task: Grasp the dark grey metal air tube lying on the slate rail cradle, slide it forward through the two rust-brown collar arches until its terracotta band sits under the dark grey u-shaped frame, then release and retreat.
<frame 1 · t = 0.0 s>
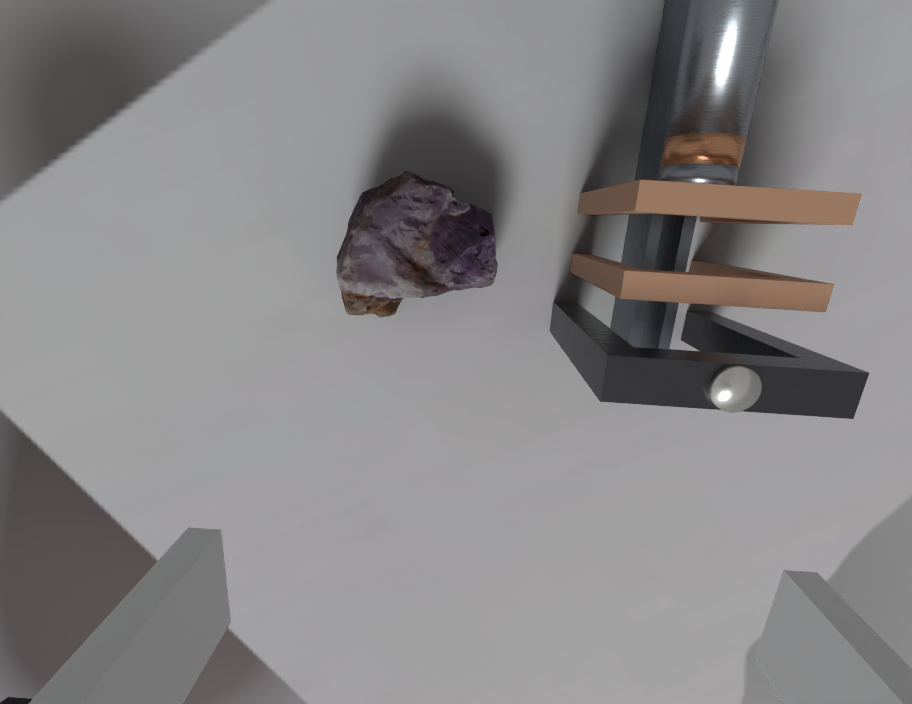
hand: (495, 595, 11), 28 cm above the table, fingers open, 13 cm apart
rock: (416, 246, 36), on the table
rail cradle: (662, 137, 33), on the table
collar a: (650, 208, 34), resting in rail cradle
collar b: (639, 267, 36), resting in rail cradle
dark grey u-shaped frame: (629, 321, 37), resting in rail cradle
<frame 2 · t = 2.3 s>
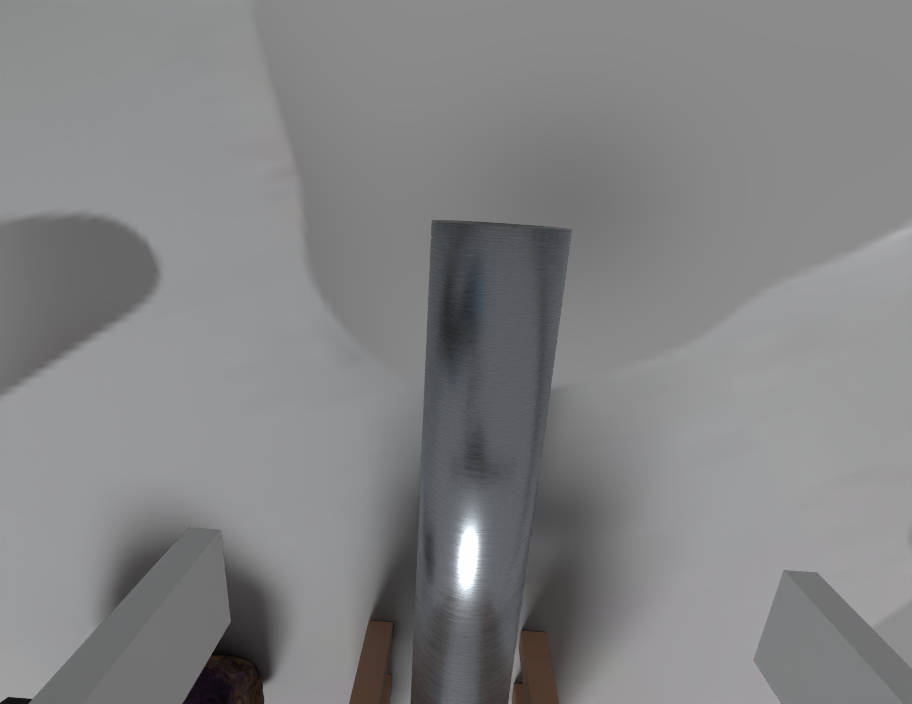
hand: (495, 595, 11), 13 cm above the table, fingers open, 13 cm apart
rock: (181, 660, 29), on the table
collar a: (456, 635, 28), resting in rail cradle
air tube: (472, 502, 20), point 4 cm above the table, touching rail cradle
collar b: (452, 687, 29), resting in rail cradle
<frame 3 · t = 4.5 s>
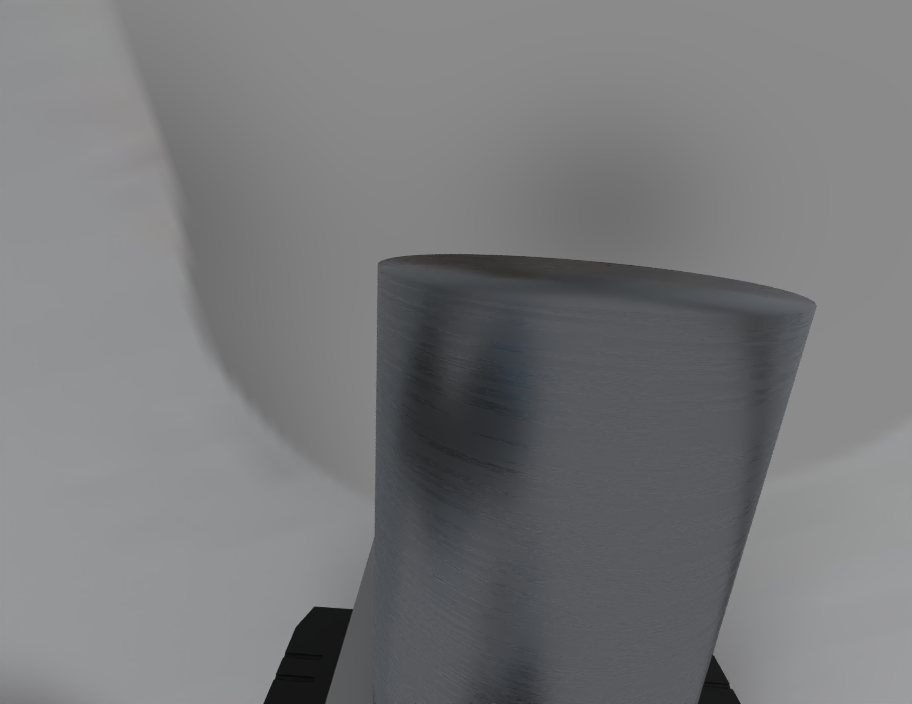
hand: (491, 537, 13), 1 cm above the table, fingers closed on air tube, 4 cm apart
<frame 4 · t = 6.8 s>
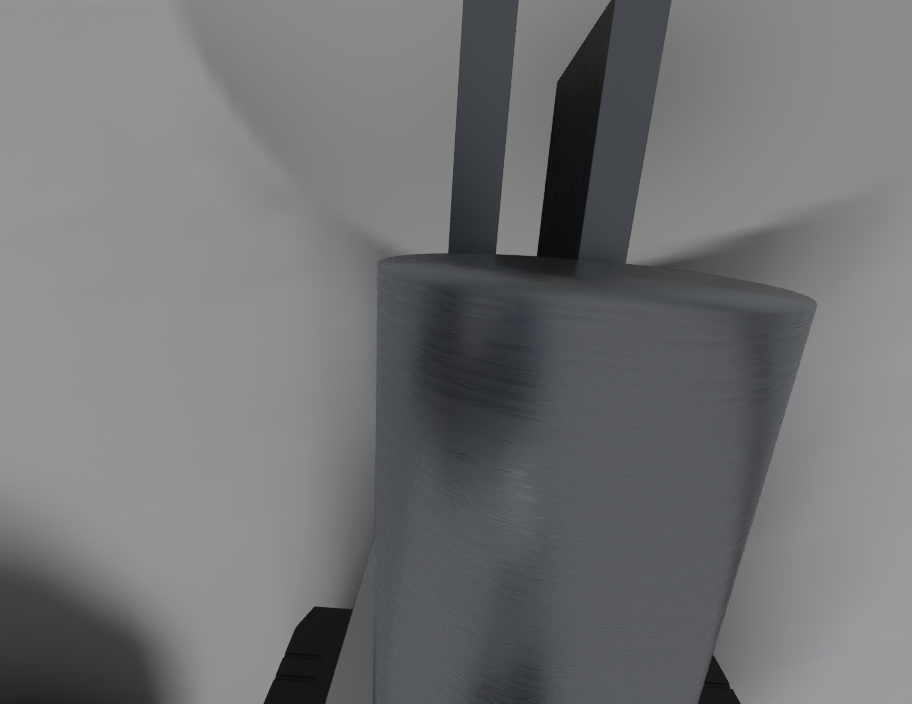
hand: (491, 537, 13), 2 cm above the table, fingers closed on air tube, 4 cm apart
rail cradle: (475, 604, 15), on the table
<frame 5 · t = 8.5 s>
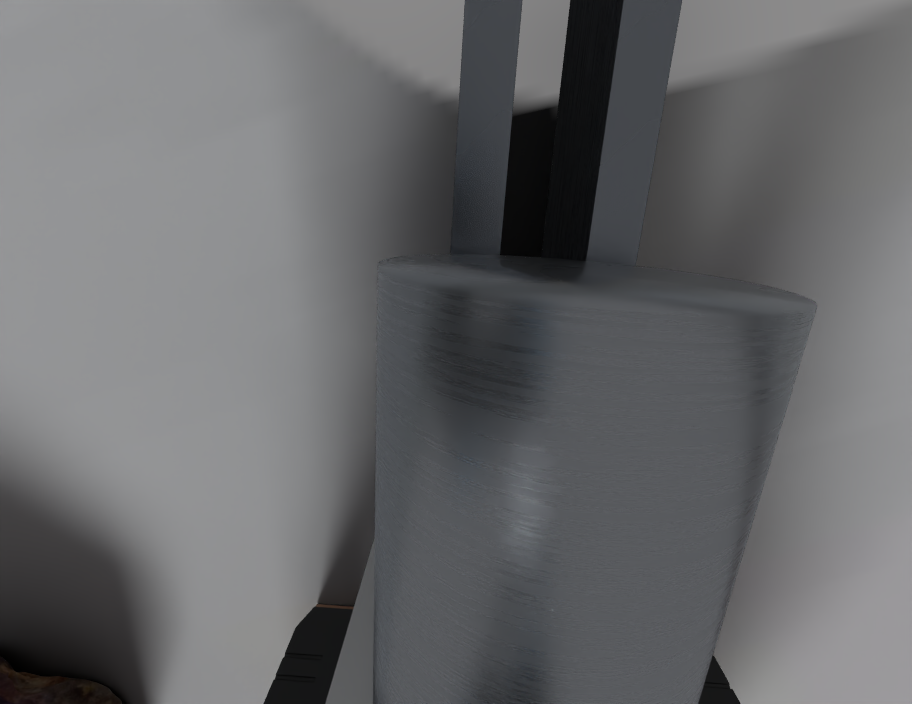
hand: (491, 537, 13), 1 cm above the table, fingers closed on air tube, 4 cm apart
rail cradle: (489, 508, 14), on the table
when the fingers open (1 cm above the table, at t = 9.2 s): air tube stays where it is, resting on rail cradle.
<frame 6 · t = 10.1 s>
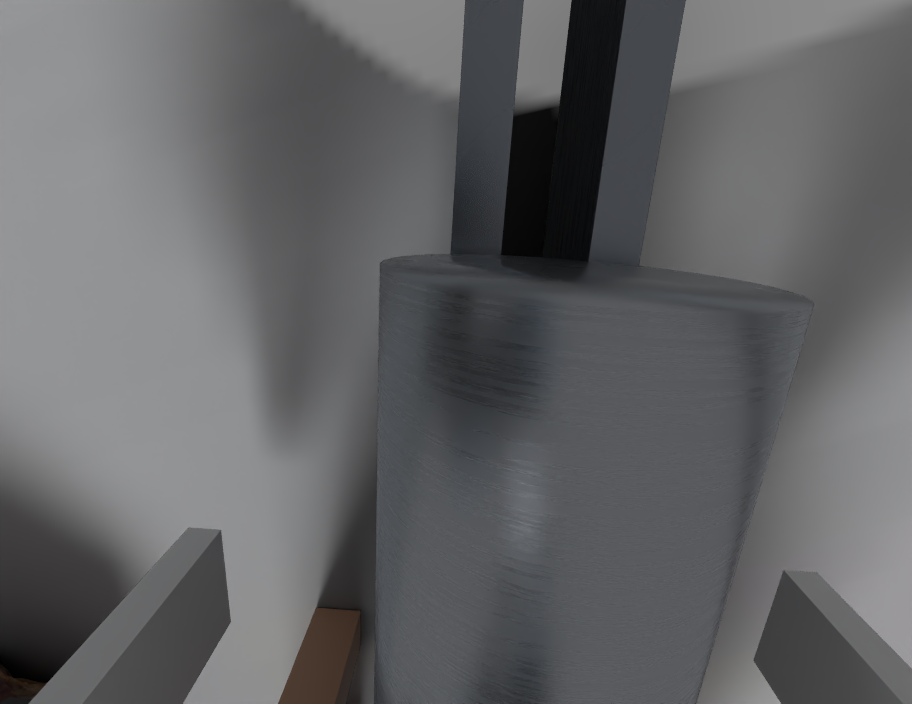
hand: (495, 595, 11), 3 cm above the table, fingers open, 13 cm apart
rail cradle: (489, 511, 14), on the table
collar a: (477, 636, 15), resting in rail cradle
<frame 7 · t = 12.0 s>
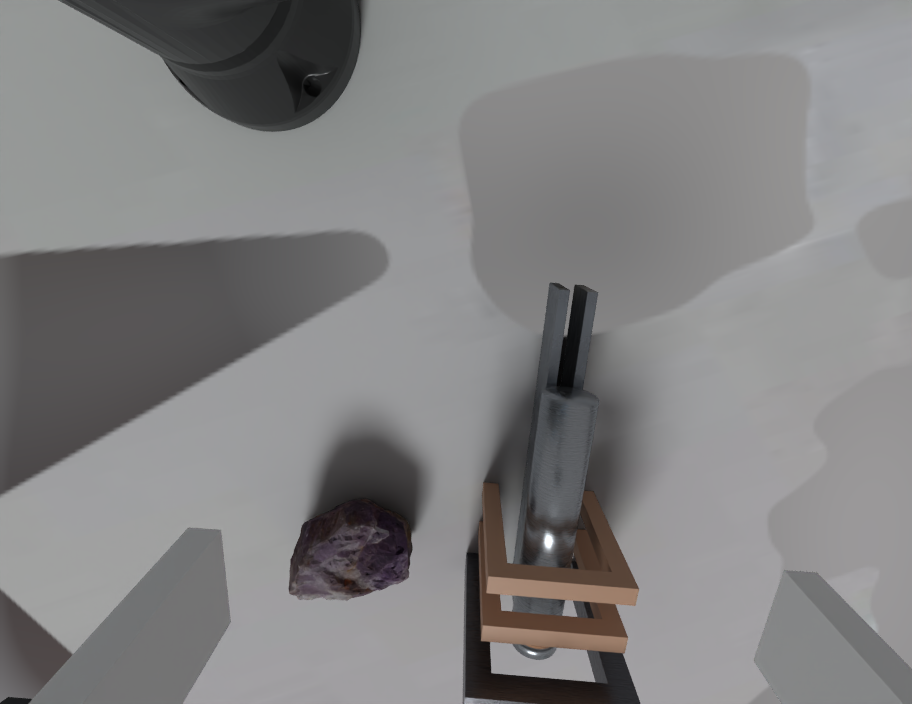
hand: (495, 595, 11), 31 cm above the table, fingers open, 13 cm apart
rock: (358, 517, 46), on the table
rail cradle: (543, 448, 43), on the table
collar a: (537, 493, 45), resting in rail cradle
air tube: (545, 511, 40), point 4 cm above the table, touching rail cradle
collar b: (532, 531, 46), resting in rail cradle
dark grey u-shaped frame: (526, 567, 47), resting in rail cradle
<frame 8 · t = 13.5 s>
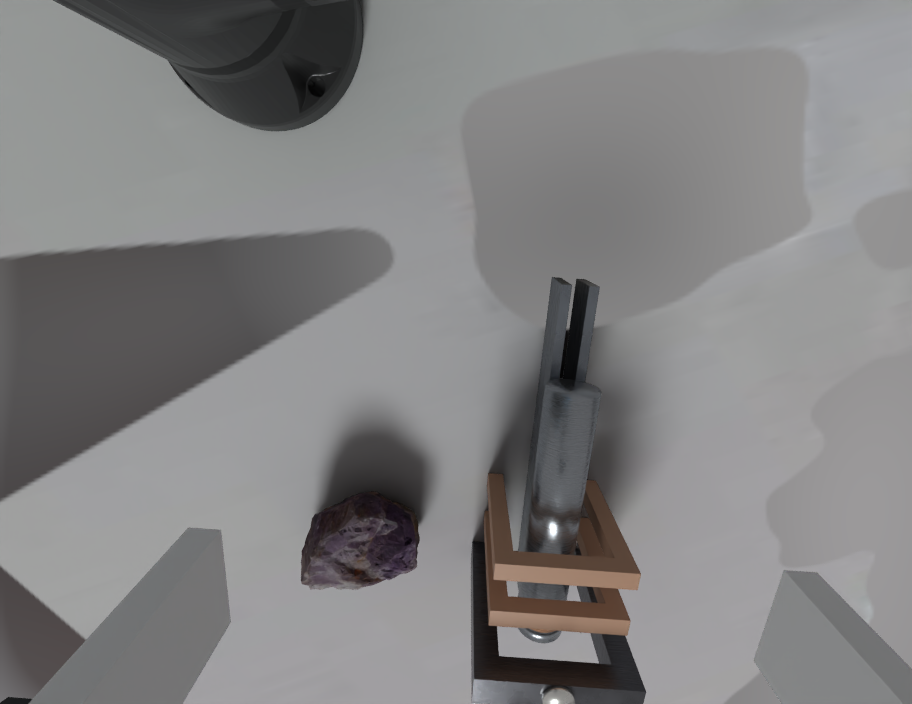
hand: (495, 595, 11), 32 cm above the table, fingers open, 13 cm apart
rock: (366, 509, 48), on the table
rail cradle: (547, 439, 44), on the table
collar a: (541, 483, 46), resting in rail cradle
air tube: (549, 500, 41), point 4 cm above the table, touching rail cradle
collar b: (536, 520, 47), resting in rail cradle
dark grey u-shaped frame: (531, 555, 48), resting in rail cradle
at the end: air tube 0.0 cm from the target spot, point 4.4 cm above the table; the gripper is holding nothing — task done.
